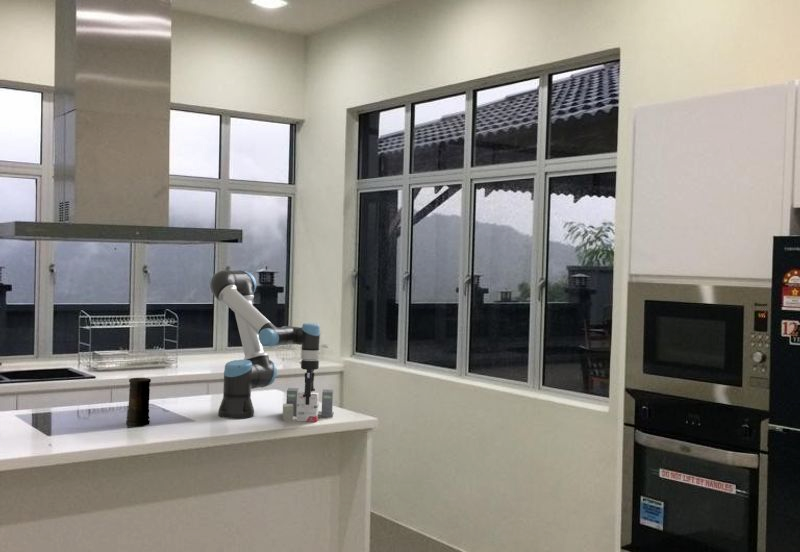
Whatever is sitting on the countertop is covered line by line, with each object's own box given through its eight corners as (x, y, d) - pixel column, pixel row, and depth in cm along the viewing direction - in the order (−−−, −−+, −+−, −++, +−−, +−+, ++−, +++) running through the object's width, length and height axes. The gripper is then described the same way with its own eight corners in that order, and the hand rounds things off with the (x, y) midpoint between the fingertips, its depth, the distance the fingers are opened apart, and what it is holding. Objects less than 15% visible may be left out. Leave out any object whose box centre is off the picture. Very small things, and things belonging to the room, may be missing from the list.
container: (125, 421, 320) (127, 377, 320) (149, 421, 323) (150, 377, 323) (126, 426, 312) (128, 381, 311) (150, 425, 315) (152, 380, 314)
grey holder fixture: (284, 415, 347) (285, 390, 346) (286, 412, 355) (287, 387, 354) (332, 417, 347) (333, 392, 347) (333, 414, 355) (334, 389, 355)
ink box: (318, 419, 342) (319, 392, 341) (316, 422, 337) (317, 394, 336) (298, 418, 342) (299, 391, 342) (295, 420, 337) (297, 393, 337)
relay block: (283, 420, 337) (284, 406, 337) (282, 417, 343) (283, 403, 343) (292, 420, 338) (293, 406, 338) (291, 417, 344) (292, 403, 344)
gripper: (316, 363, 327) (315, 415, 327) (320, 356, 352) (319, 404, 352) (298, 363, 326) (296, 414, 327) (303, 356, 351) (302, 403, 352)
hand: (308, 409), depth 339 cm, fingers open, 13 cm apart
